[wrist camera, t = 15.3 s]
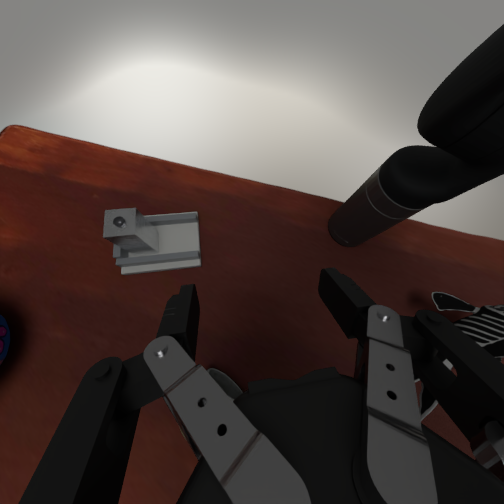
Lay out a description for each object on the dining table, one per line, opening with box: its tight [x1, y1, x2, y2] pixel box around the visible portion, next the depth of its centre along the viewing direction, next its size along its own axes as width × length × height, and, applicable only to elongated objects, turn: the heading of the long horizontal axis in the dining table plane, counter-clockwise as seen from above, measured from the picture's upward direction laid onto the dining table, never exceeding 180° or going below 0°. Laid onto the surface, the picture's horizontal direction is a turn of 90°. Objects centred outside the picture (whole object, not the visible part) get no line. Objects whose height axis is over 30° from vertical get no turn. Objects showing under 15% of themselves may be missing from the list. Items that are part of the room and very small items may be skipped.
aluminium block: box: [103, 208, 159, 255], centre depth 36 cm, size 5×5×10 cm
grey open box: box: [113, 212, 201, 275], centre depth 40 cm, size 15×12×4 cm
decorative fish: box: [413, 292, 504, 422], centre depth 33 cm, size 16×26×15 cm, turn 119°
